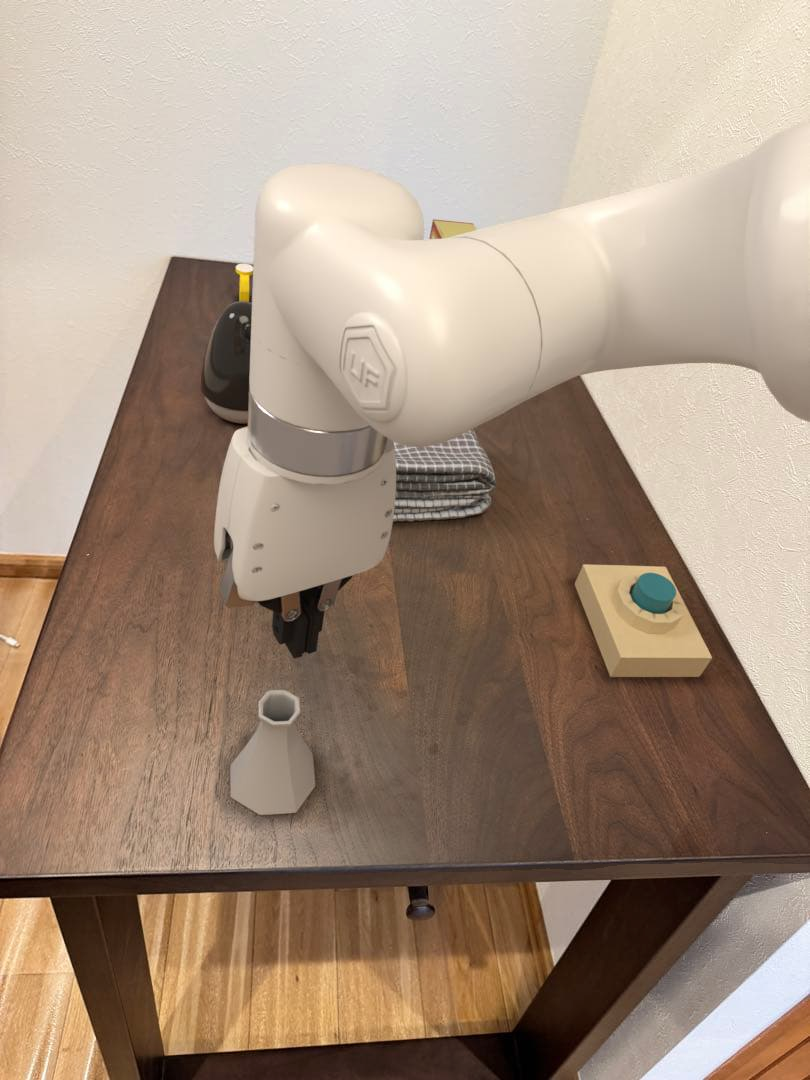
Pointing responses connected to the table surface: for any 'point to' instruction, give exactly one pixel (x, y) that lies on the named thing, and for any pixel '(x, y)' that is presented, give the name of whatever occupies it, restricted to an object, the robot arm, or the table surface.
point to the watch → (244, 280)
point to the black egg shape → (229, 363)
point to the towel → (443, 480)
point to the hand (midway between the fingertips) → (295, 640)
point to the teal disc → (653, 593)
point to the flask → (274, 760)
